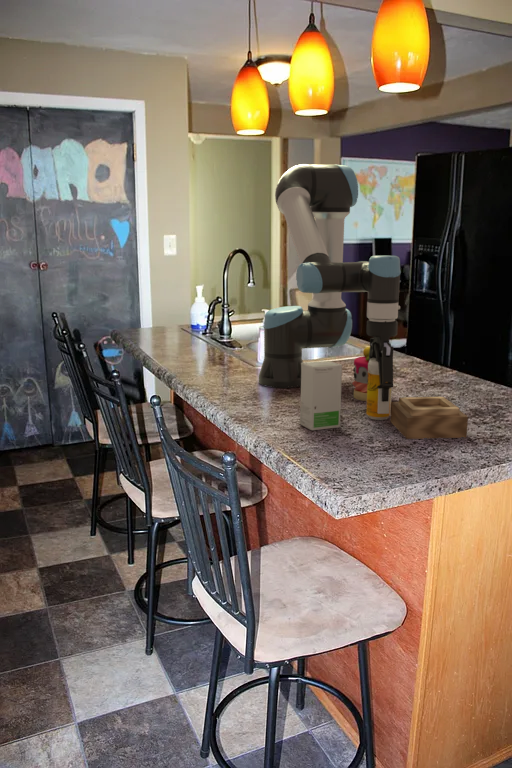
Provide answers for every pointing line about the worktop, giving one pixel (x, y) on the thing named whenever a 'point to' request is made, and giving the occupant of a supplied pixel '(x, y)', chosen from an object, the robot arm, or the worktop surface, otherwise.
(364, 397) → the cake
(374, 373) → the beer can
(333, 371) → the skincare box
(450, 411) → the stand
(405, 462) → the worktop surface
